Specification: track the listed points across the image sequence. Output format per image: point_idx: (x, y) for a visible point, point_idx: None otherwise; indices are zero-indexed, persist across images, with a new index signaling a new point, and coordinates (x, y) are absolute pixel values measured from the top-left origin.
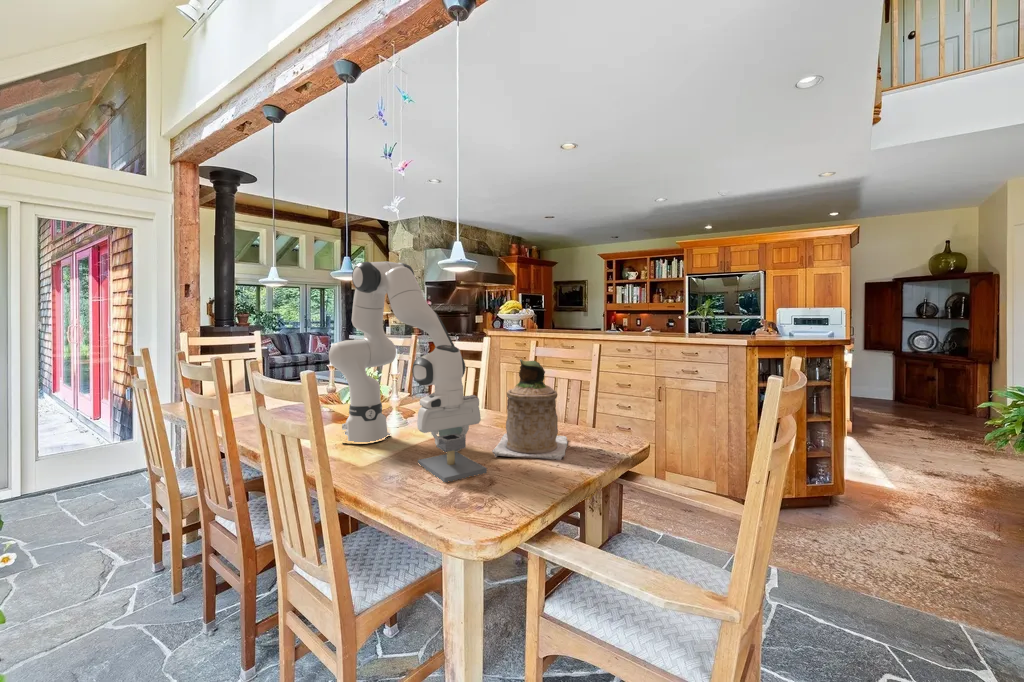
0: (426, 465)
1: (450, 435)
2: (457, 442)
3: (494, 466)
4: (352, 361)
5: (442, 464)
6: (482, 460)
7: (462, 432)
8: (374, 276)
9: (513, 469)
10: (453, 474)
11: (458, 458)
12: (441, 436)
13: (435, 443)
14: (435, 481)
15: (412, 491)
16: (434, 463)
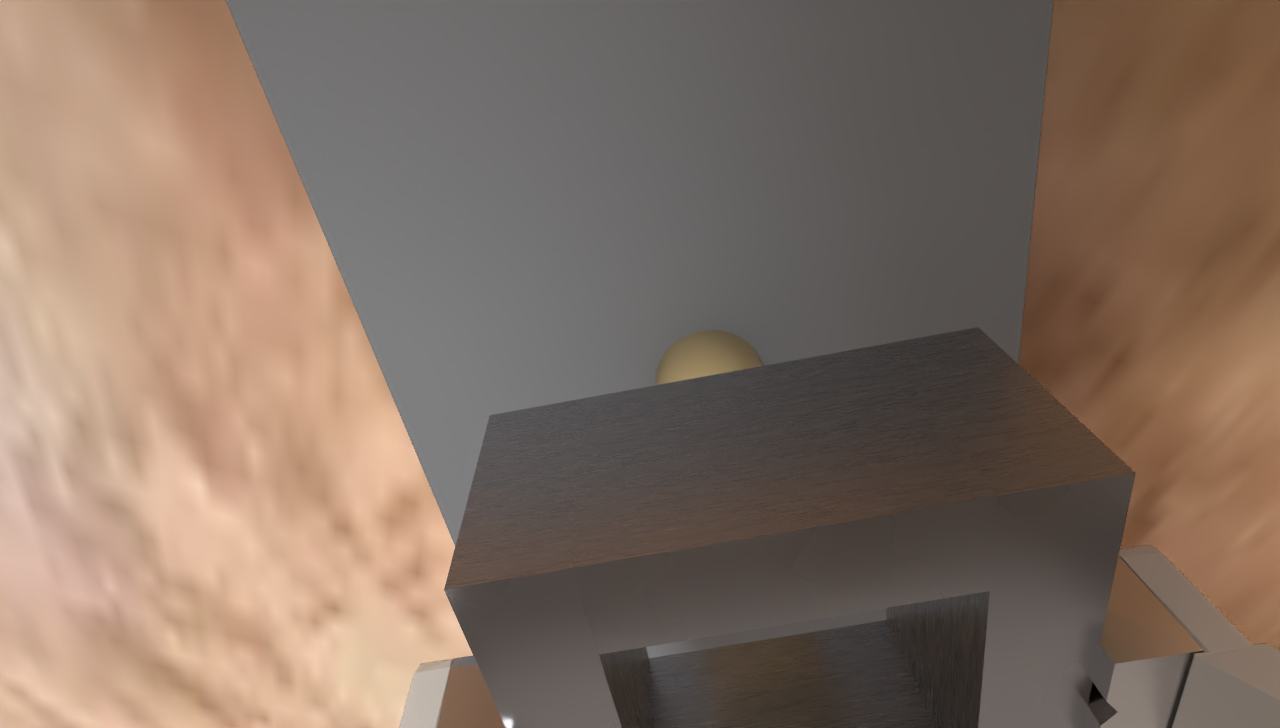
0: (361, 309)
1: (881, 606)
2: None
3: (1152, 464)
4: None
5: (592, 355)
6: (1203, 211)
7: (1231, 712)
8: None
9: (1225, 591)
10: None
11: (898, 194)
12: (610, 609)
13: (423, 680)
14: None
15: (238, 716)
16: (489, 269)
